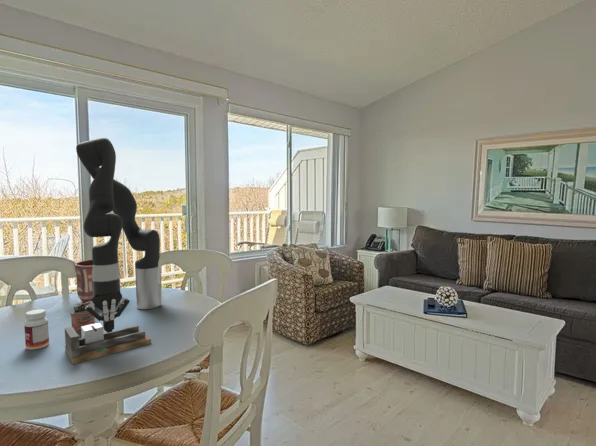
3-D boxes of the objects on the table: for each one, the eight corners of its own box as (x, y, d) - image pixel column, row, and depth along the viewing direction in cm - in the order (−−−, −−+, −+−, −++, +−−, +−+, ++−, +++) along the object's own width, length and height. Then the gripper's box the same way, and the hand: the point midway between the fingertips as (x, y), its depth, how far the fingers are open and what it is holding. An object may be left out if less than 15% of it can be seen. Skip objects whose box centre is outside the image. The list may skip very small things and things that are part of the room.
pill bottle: (23, 346, 117) (21, 312, 116) (45, 340, 122) (43, 307, 121) (29, 352, 113) (26, 316, 112) (52, 345, 118) (49, 311, 117)
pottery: (66, 306, 158) (64, 265, 157) (94, 294, 176) (92, 257, 174) (103, 308, 156) (102, 266, 154) (128, 296, 173) (127, 259, 172)
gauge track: (138, 332, 128) (137, 311, 128) (151, 343, 119) (150, 320, 119) (65, 350, 114) (63, 327, 113) (73, 364, 105) (71, 338, 104)
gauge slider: (100, 341, 117) (99, 321, 116) (106, 348, 111) (105, 327, 111) (82, 345, 114) (81, 324, 113) (87, 353, 108) (86, 331, 108)
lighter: (74, 335, 126) (73, 307, 125) (69, 333, 128) (67, 305, 127) (97, 328, 133) (96, 301, 132) (92, 326, 135) (91, 299, 134)
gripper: (125, 272, 122) (127, 323, 123) (79, 278, 113) (82, 333, 114) (132, 276, 116) (134, 329, 118) (85, 283, 107) (88, 340, 109)
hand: (109, 331), depth 116 cm, fingers closed
